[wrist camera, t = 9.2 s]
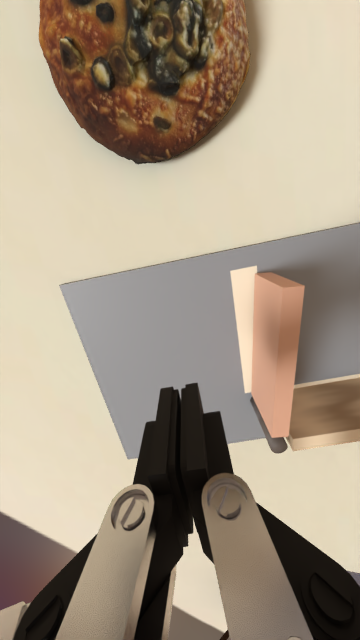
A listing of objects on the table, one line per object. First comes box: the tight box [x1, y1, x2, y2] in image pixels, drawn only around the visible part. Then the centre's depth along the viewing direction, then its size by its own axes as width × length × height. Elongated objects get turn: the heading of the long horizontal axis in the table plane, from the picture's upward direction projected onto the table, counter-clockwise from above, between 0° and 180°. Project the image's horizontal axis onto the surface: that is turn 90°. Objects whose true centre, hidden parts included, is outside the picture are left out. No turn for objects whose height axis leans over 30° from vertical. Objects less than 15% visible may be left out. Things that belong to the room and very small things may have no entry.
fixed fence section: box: [250, 378, 360, 453], centre depth 19 cm, size 12×1×5 cm, turn 101°
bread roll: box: [39, 0, 251, 164], centre depth 12 cm, size 11×11×5 cm
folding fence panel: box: [251, 272, 305, 438], centre depth 17 cm, size 11×1×5 cm, turn 5°
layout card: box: [59, 223, 360, 459], centre depth 20 cm, size 26×19×1 cm
